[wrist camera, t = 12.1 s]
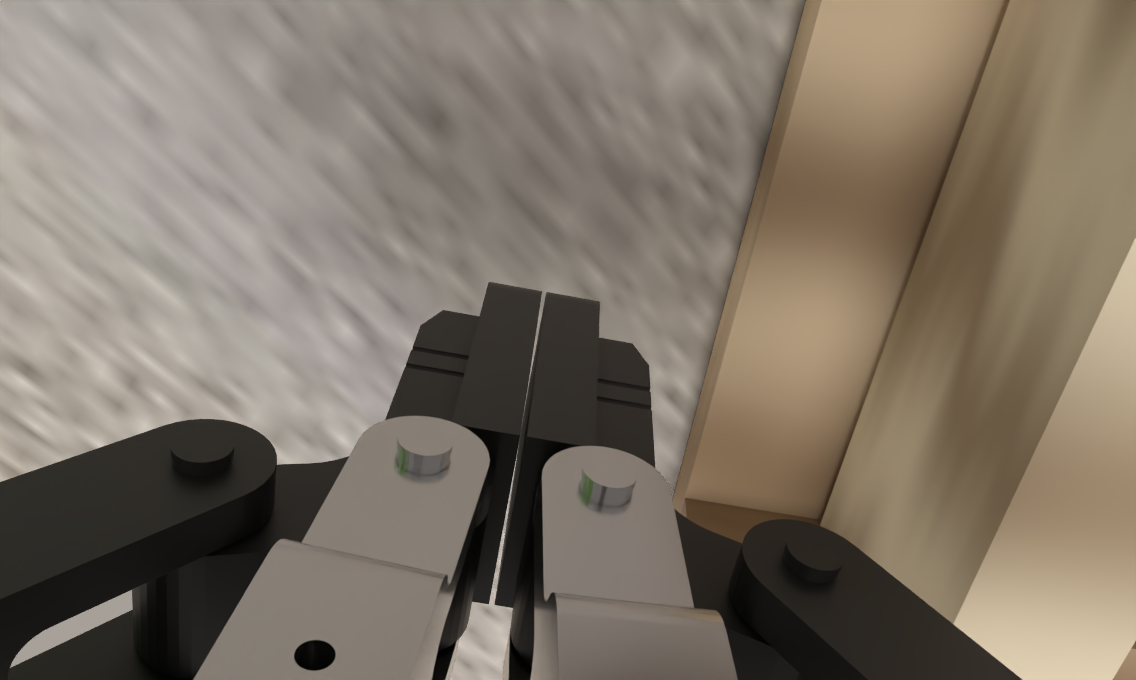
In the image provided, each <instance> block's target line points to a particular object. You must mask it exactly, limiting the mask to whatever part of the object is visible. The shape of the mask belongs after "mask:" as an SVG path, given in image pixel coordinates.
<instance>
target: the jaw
mask: <svg viewBox="0 0 1136 680" xmlns="http://www.w3.org/2000/svg"><path fill="white" fill-rule="evenodd" d="M820 526H821V527H824V528H826V529H828V530H830V531H832V532H835V533H836V534H838V535H840V536H842V537H843V538H845V539H847V540H848V541H849V542H851V543H852V544H853V545H855V546H856V547H857V548H859V549H860V550H861V551H862V552H864V553H865V554H866V555H867V556H869V557H870V558H871V559H872V560H874V561H875V562H876V563H877V564H879V565H880V566H881V567H882V568H884V569H885V570H886V571H887V572H889V573H890V574H891V575H892V576H894V577H895V578H896V579H897V580H899V581H900V582H901V583H902V584H904V585H905V586H906V587H907V588H909V589H910V590H911V591H912V592H914V593H915V594H916V595H917V596H919V597H920V598H921V599H922V600H924V601H925V602H926V603H927V604H929V605H930V606H931V607H932V608H934V609H935V610H936V611H937V612H939V613H940V614H941V615H942V616H944V617H945V618H946V619H947V620H949V621H950V622H951V623H952V624H954V625H955V626H956V627H957V628H959V629H960V630H961V631H962V632H964V633H965V634H966V635H967V636H969V637H970V638H971V639H972V640H974V641H975V642H976V643H977V644H979V645H980V646H981V647H982V648H984V649H985V650H986V651H987V652H989V653H990V654H991V655H992V656H994V657H995V658H996V659H997V660H999V661H1000V662H1001V663H1002V664H1004V665H1005V666H1006V667H1007V668H1009V669H1010V670H1011V671H1012V672H1014V673H1015V674H1016V675H1017V676H1019V677H1020V678H1021V679H1022V680H1113V678H1114V676H1115V675H1116V673H1117V671H1118V670H1119V668H1120V666H1121V665H1122V663H1123V661H1124V660H1125V658H1126V656H1127V655H1128V653H1129V651H1130V650H1131V648H1132V646H1133V645H1134V643H1135V641H1136V0H1010V2H1009V4H1008V7H1007V10H1006V13H1005V15H1004V18H1003V21H1002V24H1001V26H1000V29H999V32H998V35H997V37H996V40H995V43H994V46H993V49H992V51H991V54H990V57H989V60H988V62H987V65H986V68H985V71H984V73H983V76H982V79H981V82H980V84H979V87H978V90H977V93H976V95H975V98H974V101H973V104H972V107H971V109H970V112H969V115H968V118H967V120H966V123H965V126H964V129H963V131H962V134H961V137H960V140H959V142H958V145H957V148H956V151H955V154H954V156H953V159H952V162H951V165H950V167H949V170H948V173H947V176H946V178H945V181H944V184H943V187H942V189H941V192H940V195H939V198H938V201H937V203H936V206H935V209H934V212H933V214H932V217H931V220H930V223H929V225H928V228H927V231H926V234H925V236H924V239H923V242H922V245H921V247H920V250H919V253H918V256H917V259H916V261H915V264H914V267H913V270H912V272H911V275H910V278H909V281H908V283H907V286H906V289H905V292H904V294H903V297H902V300H901V303H900V306H899V308H898V311H897V314H896V317H895V319H894V322H893V325H892V328H891V330H890V333H889V336H888V339H887V341H886V344H885V347H884V350H883V353H882V355H881V358H880V361H879V364H878V366H877V369H876V372H875V375H874V377H873V380H872V383H871V386H870V388H869V391H868V394H867V397H866V399H865V402H864V405H863V408H862V411H861V413H860V416H859V419H858V422H857V424H856V427H855V430H854V433H853V435H852V438H851V441H850V444H849V446H848V449H847V452H846V455H845V458H844V460H843V463H842V466H841V469H840V471H839V474H838V477H837V480H836V482H835V485H834V488H833V491H832V493H831V496H830V499H829V502H828V505H827V507H826V510H825V513H824V516H823V518H822V521H821V524H820Z"/></svg>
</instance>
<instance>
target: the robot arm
mask: <svg viewBox="0 0 1136 680" xmlns="http://www.w3.org/2000/svg"><path fill="white" fill-rule="evenodd" d="M541 295H542V291H537V290H531V289H526V288H520V287H514V286H509V285H503V284H498V283H492V282H489V283H488V287H487V291H486V295H485V298H484V302H483V306H482V310H481V313H480V317H479V316H473V315H468V314H462V313H456V312H451V311H445V310H443V311H441V312H440V313H438V314H437V315H435V316H434V317H432V318H431V319H430V320H428V321H427V322H425V323H424V324H422V325H421V326H420V329H419V332H418V334H417V337H416V340H415V342H414V345H413V349H412V350H411V353H410V355H409V358H408V361H407V364H406V367H405V369H404V371H403V374H402V377H401V379H400V382H399V385H398V387H397V390H396V393H395V395H394V398H393V401H392V403H391V406H390V409H389V411H388V414H387V417H386V419H385V420H384V421H382V422H379V423H377V424H375V425H373V426H372V427H370V428H369V429H367V430H366V431H365V432H364V433H363V434H362V436H361V437H360V438H359V440H358V442H357V444H356V445H355V447H354V449H353V451H352V453H351V454H350V456H348V457H345V458H342V459H338V460H334V461H328V462H323V463H310V464H284V465H277V455H276V452H275V449H274V447H273V445H272V444H271V442H270V441H269V440H268V439H267V438H266V437H265V436H263V435H262V434H260V433H259V432H257V431H256V430H254V429H252V428H249V427H247V426H244V425H241V424H238V423H235V422H230V421H225V420H215V419H196V420H186V421H181V422H175V423H172V424H168V425H165V426H162V427H159V428H156V429H153V430H150V431H147V432H144V433H141V434H138V435H136V436H133V437H130V438H127V439H124V440H121V441H118V442H115V443H112V444H109V445H107V446H104V447H101V448H98V449H95V450H92V451H89V452H86V453H83V454H80V455H78V456H75V457H72V458H69V459H66V460H63V461H60V462H57V463H54V464H52V465H49V466H46V467H43V468H40V469H37V470H34V471H31V472H28V473H25V474H23V475H20V476H17V477H14V478H11V479H8V480H5V481H2V482H0V680H450V676H451V673H452V670H453V666H454V663H455V659H456V654H457V648H458V642H459V638H460V637H461V636H462V634H463V633H464V631H465V629H466V627H467V624H468V621H469V615H470V610H471V604H472V602H478V603H485V604H489V600H490V595H491V589H492V584H493V579H494V573H495V568H496V562H497V557H498V552H499V546H500V541H501V536H502V530H503V525H504V520H505V514H506V509H507V504H508V498H509V493H510V488H511V482H512V477H513V472H514V466H515V461H516V467H515V473H514V480H513V486H512V493H511V500H510V506H509V513H508V519H507V526H506V533H505V539H504V546H503V552H502V559H501V566H500V572H499V579H498V586H497V592H496V599H495V605H499V606H505V607H511V608H513V613H512V621H511V628H510V633H509V638H508V643H507V648H506V652H505V657H504V664H503V680H1022V679H1021V678H1020V677H1019V676H1017V675H1016V674H1015V673H1014V672H1012V671H1011V670H1010V669H1009V668H1007V667H1006V666H1005V665H1004V664H1002V663H1001V662H1000V661H999V660H997V659H996V658H995V657H994V656H992V655H991V654H990V653H989V652H987V651H986V650H985V649H984V648H982V647H981V646H980V645H979V644H977V643H976V642H975V641H974V640H972V639H971V638H970V637H969V636H967V635H966V634H965V633H964V632H962V631H961V630H960V629H959V628H957V627H956V626H955V625H954V624H952V623H951V622H950V621H949V620H947V619H946V618H945V617H944V616H942V615H941V614H940V613H939V612H937V611H936V610H935V609H934V608H932V607H931V606H930V605H929V604H927V603H926V602H925V601H924V600H922V599H921V598H920V597H919V596H917V595H916V594H915V593H914V592H912V591H911V590H910V589H909V588H907V587H906V586H905V585H904V584H902V583H901V582H900V581H899V580H897V579H896V578H895V577H894V576H892V575H891V574H890V573H889V572H887V571H886V570H885V569H884V568H882V567H881V566H880V565H879V564H877V563H876V562H875V561H874V560H872V559H871V558H870V557H869V556H867V555H866V554H865V553H864V552H862V551H861V550H860V549H859V548H857V547H856V546H855V545H853V544H852V543H851V542H849V541H848V540H847V539H845V538H843V537H842V536H840V535H838V534H836V533H835V532H832V531H830V530H828V529H826V528H824V527H821V526H818V525H815V524H812V523H808V522H804V521H798V520H791V519H776V520H769V521H765V522H762V523H760V524H757V525H755V526H754V527H753V528H751V529H750V530H749V531H748V532H747V534H746V535H745V537H744V540H743V543H740V542H737V541H735V540H732V539H730V538H727V537H725V536H722V535H720V534H717V533H715V532H712V531H710V530H708V529H705V528H703V527H701V526H699V525H697V524H695V523H694V522H692V521H690V520H689V519H687V518H686V517H684V516H683V515H681V514H680V513H679V512H678V511H677V510H675V509H674V505H673V500H672V495H671V491H670V488H669V485H668V483H667V482H666V480H665V478H664V477H663V476H662V475H661V474H660V473H659V472H658V471H657V470H656V469H655V456H654V440H653V424H652V410H651V392H650V375H649V365H648V364H647V362H646V361H645V360H644V358H643V357H642V356H641V354H640V353H639V352H638V350H637V349H636V348H635V347H634V345H633V344H632V343H626V342H620V341H615V340H609V339H603V338H599V313H600V302H599V301H593V300H588V299H582V298H577V297H571V296H565V295H560V294H554V293H549V292H547V293H546V298H545V303H544V308H543V313H542V318H541V324H540V329H539V334H538V340H537V345H536V351H535V356H534V361H533V367H532V372H531V377H530V383H529V388H528V381H529V374H530V368H531V361H532V354H533V348H534V341H535V335H536V328H537V321H538V315H539V308H540V302H541ZM527 388H528V393H527ZM526 394H527V399H526ZM525 401H526V405H525ZM524 407H525V410H524ZM523 414H524V416H523ZM522 421H523V422H522ZM521 427H522V428H521ZM519 439H520V440H519ZM518 445H519V447H518ZM517 450H518V453H517ZM516 456H517V460H516ZM130 590H132V600H133V610H131V611H129V612H127V613H125V614H123V615H121V616H119V617H116V618H114V619H112V620H110V621H108V622H106V623H104V624H102V625H100V626H98V627H95V628H93V629H91V630H89V631H87V632H85V633H83V634H81V635H79V636H77V637H74V638H72V639H70V640H68V641H66V642H64V643H62V644H60V645H58V646H56V647H54V648H51V649H49V650H47V651H45V652H43V653H41V654H39V655H37V656H35V657H32V658H31V659H28V660H26V661H24V662H22V663H20V664H18V665H16V666H14V667H11V668H10V666H11V663H12V661H13V659H14V658H15V656H16V655H17V654H18V652H19V651H20V650H21V648H22V647H23V646H24V645H25V644H26V643H27V642H29V641H30V640H31V639H32V638H33V637H35V636H36V635H38V634H39V633H41V632H42V631H44V630H45V629H48V628H49V627H52V626H54V625H56V624H58V623H60V622H62V621H65V620H67V619H69V618H71V617H73V616H76V615H78V614H80V613H82V612H84V611H86V610H89V609H91V608H93V607H95V606H97V605H99V604H102V603H104V602H106V601H108V600H110V599H112V598H115V597H117V596H119V595H121V594H123V593H125V592H128V591H130Z"/></svg>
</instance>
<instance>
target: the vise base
mask: <svg viewBox="0 0 1136 680" xmlns="http://www.w3.org/2000/svg"><path fill="white" fill-rule="evenodd" d="M1009 2H1010V0H806V2H805V6H804V10H803V14H802V17H801V21H800V25H799V28H798V32H797V36H796V40H795V43H794V47H793V51H792V55H791V58H790V62H789V66H788V70H787V73H786V77H785V81H784V85H783V88H782V92H781V96H780V99H779V103H778V107H777V111H776V114H775V118H774V122H773V126H772V129H771V133H770V137H769V141H768V144H767V148H766V152H765V155H764V159H763V163H762V167H761V170H760V174H759V178H758V182H757V185H756V189H755V193H754V197H753V200H752V204H751V208H750V211H749V215H748V219H747V223H746V226H745V230H744V234H743V238H742V241H741V245H740V249H739V253H738V256H737V260H736V264H735V267H734V271H733V275H732V279H731V282H730V286H729V290H728V294H727V297H726V301H725V305H724V309H723V312H722V316H721V320H720V324H719V327H718V331H717V335H716V338H715V342H714V346H713V350H712V353H711V357H710V361H709V365H708V368H707V372H706V376H705V380H704V383H703V387H702V391H701V394H700V398H699V402H698V406H697V409H696V413H695V417H694V421H693V424H692V428H691V432H690V436H689V439H688V443H687V447H686V450H685V454H684V458H683V462H682V465H681V469H680V473H679V477H678V480H677V484H676V488H675V492H674V495H673V499H672V500H673V505H674V509H675V510H677V511H678V512H679V513H680V514H681V515H683V516H684V517H686V518H687V519H689V520H690V521H692V522H694V523H695V524H697V525H699V526H701V527H703V528H705V529H708V530H710V531H712V532H715V533H717V534H720V535H722V536H725V537H727V538H730V539H732V540H735V541H737V542H740V543H743V540H744V537H745V535H746V534H747V532H748V531H749V530H750V529H751V528H753V527H754V526H755V525H757V524H760V523H762V522H765V521H769V520H776V519H791V520H798V521H804V522H808V523H812V524H815V525H818V526H820V524H821V521H822V518H823V516H824V513H825V510H826V507H827V505H828V502H829V499H830V496H831V493H832V491H833V488H834V485H835V482H836V480H837V477H838V474H839V471H840V469H841V466H842V463H843V460H844V458H845V455H846V452H847V449H848V446H849V444H850V441H851V438H852V435H853V433H854V430H855V427H856V424H857V422H858V419H859V416H860V413H861V411H862V408H863V405H864V402H865V399H866V397H867V394H868V391H869V388H870V386H871V383H872V380H873V377H874V375H875V372H876V369H877V366H878V364H879V361H880V358H881V355H882V353H883V350H884V347H885V344H886V341H887V339H888V336H889V333H890V330H891V328H892V325H893V322H894V319H895V317H896V314H897V311H898V308H899V306H900V303H901V300H902V297H903V294H904V292H905V289H906V286H907V283H908V281H909V278H910V275H911V272H912V270H913V267H914V264H915V261H916V259H917V256H918V253H919V250H920V247H921V245H922V242H923V239H924V236H925V234H926V231H927V228H928V225H929V223H930V220H931V217H932V214H933V212H934V209H935V206H936V203H937V201H938V198H939V195H940V192H941V189H942V187H943V184H944V181H945V178H946V176H947V173H948V170H949V167H950V165H951V162H952V159H953V156H954V154H955V151H956V148H957V145H958V142H959V140H960V137H961V134H962V131H963V129H964V126H965V123H966V120H967V118H968V115H969V112H970V109H971V107H972V104H973V101H974V98H975V95H976V93H977V90H978V87H979V84H980V82H981V79H982V76H983V73H984V71H985V68H986V65H987V62H988V60H989V57H990V54H991V51H992V49H993V46H994V43H995V40H996V37H997V35H998V32H999V29H1000V26H1001V24H1002V21H1003V18H1004V15H1005V13H1006V10H1007V7H1008V4H1009ZM1113 680H1136V641H1135V643H1134V645H1133V646H1132V648H1131V650H1130V651H1129V653H1128V655H1127V656H1126V658H1125V660H1124V661H1123V663H1122V665H1121V666H1120V668H1119V670H1118V671H1117V673H1116V675H1115V676H1114V678H1113Z"/></svg>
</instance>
